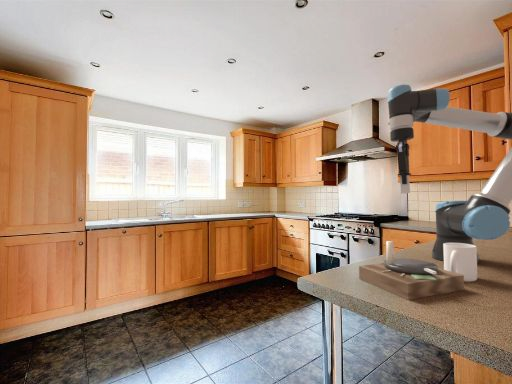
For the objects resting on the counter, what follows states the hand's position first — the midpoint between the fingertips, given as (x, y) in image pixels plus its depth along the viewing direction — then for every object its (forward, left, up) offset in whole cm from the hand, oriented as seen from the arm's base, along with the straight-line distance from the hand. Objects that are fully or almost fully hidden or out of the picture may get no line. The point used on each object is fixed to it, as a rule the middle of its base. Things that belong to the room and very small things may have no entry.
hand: (405, 193), depth 96 cm
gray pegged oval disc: (+14, +15, -23) cm, 30 cm away
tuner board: (+15, +14, -27) cm, 34 cm away
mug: (-3, +16, -27) cm, 32 cm away
